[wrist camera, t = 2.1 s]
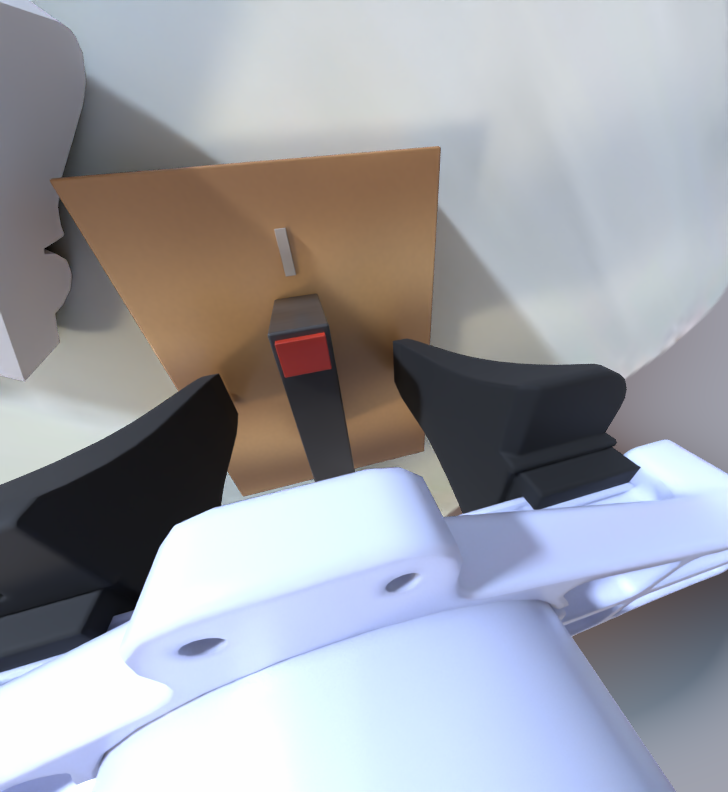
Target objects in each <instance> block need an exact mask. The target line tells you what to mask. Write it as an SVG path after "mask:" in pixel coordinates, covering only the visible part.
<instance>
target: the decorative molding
mask: <svg viewBox="0 0 728 792" xmlns="http://www.w3.org/2000/svg"><path fill="white" fill-rule="evenodd" d="M85 86H86V76H85V68H84V60H83V53H82V50H81V48H80V46H79V43H78V41H77V38H76V37H75V35H74V34H73V32H72V31H71V30H70V29H69V28H68V27H66V26H65V25H63V24H62V23H61V22H59V21H58V20H56V19H55V18H54V17H52V16H51V15H49V14H48V13H47V12H45V11H44V10H42V9H41V8H39V7H38V6H37V5H35V4H34V3H32V2H31V1H30V0H0V376H4V377H8V378H12V379H16V380H20V381H24V382H25V380H26V379H27V378H28V377H29V376H30V375H31V374H32V373H33V372H34V371H35V369H36V368H37V367H38V366H39V365H40V364H41V363H42V362H43V361H44V360H45V358H46V357H47V356H48V355H49V354H50V353H51V352H52V351H53V350H54V349H55V347H56V346H57V345H58V344H59V343H60V340H59V334H58V328H57V322H56V316H55V313H56V312H57V311H58V310H59V309H60V307H61V306H62V305H63V304H64V302H65V300H66V298H67V295H68V293H69V291H70V289H71V278H72V273H71V270H70V268H69V265H68V262H67V260H66V259H64V258H62V257H60V256H59V255H57V254H55V253H52V252H50V251H48V250H45V249H44V248H46V247H47V246H49V245H51V244H52V243H54V242H55V241H57V240H58V239H60V238H61V237H63V236H64V232H63V229H62V227H61V223H60V217H59V211H58V203H59V196H58V194H57V192H56V191H55V189H54V188H53V186H52V184H51V183H50V179H52V178H62V175H63V172H64V168H65V165H66V161H67V158H68V154H69V151H70V148H71V144H72V141H73V137H74V134H75V130H76V127H77V124H78V120H79V117H80V113H81V110H82V107H83V101H84V93H85Z"/></svg>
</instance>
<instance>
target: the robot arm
mask: <svg viewBox="0 0 728 792" xmlns="http://www.w3.org/2000/svg"><path fill="white" fill-rule="evenodd" d="M393 364H394V382H395V385H396V387H397V389H398V391H399V393H400V396H401V398H402V399H403V401H404V402H405V404H406V406H407V407H408V409H409V410H410V412H411V413H412V415H413V416H414V418H415V419H416V421H417V422H418V424H419V425H420V427H421V428H422V430H423V431H424V433H425V434H426V436H427V438H428V439H429V441H430V443H431V445H432V447H433V449H434V451H435V453H436V455H437V457H438V459H439V461H440V463H441V466H442V468H443V470H444V472H445V474H446V476H447V478H448V480H449V483H450V485H451V487H452V490H453V492H454V494H455V496H456V499H457V501H458V503H459V506H460V508H461V511H462V513H463V514H461V515H458V516H449V517H443V516H442V514H441V512H440V510H439V508H438V506H437V504H436V502H435V500H434V498H433V497H432V495H431V493H430V491H429V489H428V487H427V485H426V483H425V481H424V479H423V477H421V476H419V475H417V474H414V473H412V472H410V471H407V470H405V469H403V468H400V467H389V468H375V469H365V470H361V471H357V472H353V473H349V474H345V475H341V476H337V477H333V478H329V479H325V480H322V481H318V482H314V483H310V484H306V485H302V486H298V487H294V488H290V489H286V490H282V491H278V492H274V493H270V494H266V495H262V496H258V497H254V498H250V499H246V500H242V501H239V502H235V503H231V504H227V505H223V506H221V501H222V494H223V488H224V483H225V479H226V475H227V471H228V467H229V463H230V459H231V455H232V452H233V448H234V444H235V440H236V435H237V427H238V412H237V410H236V408H235V406H234V404H233V402H232V400H231V397H230V395H229V393H228V391H227V389H226V387H225V385H224V383H223V381H222V379H221V377H220V375H219V374H214V375H208V376H203V377H201V378H199V379H197V380H195V381H193V382H192V383H190V384H189V385H187V386H186V387H184V388H183V389H181V390H180V391H179V392H177V393H176V394H174V395H173V396H171V397H170V398H169V399H167V400H166V401H164V402H163V403H161V404H160V405H158V406H157V407H155V408H154V409H152V410H151V411H149V412H148V413H146V414H145V415H143V416H142V417H140V418H139V419H137V420H135V421H134V422H132V423H130V424H129V425H127V426H125V427H124V428H122V429H120V430H118V431H117V432H115V433H113V434H111V435H109V436H107V437H106V438H104V439H102V440H100V441H98V442H96V443H94V444H92V445H90V446H88V447H86V448H84V449H82V450H80V451H77V452H75V453H73V454H71V455H69V456H67V457H65V458H63V459H61V460H59V461H56V462H54V463H52V464H50V465H47V466H45V467H43V468H40V469H38V470H36V471H33V472H31V473H29V474H26V475H24V476H21V477H19V478H16V479H14V480H11V481H9V482H7V483H4V484H1V485H0V792H676V791H675V789H674V788H673V786H672V785H671V783H670V782H669V780H668V779H667V777H666V776H665V775H664V773H663V772H662V770H661V769H660V767H659V766H658V764H657V763H656V761H655V760H654V758H653V757H652V755H651V754H650V752H649V751H648V749H647V748H646V747H645V745H644V743H643V742H642V740H641V739H640V737H639V736H638V735H637V733H636V732H635V730H634V729H633V727H632V726H631V724H630V723H629V721H628V720H627V718H626V717H625V715H624V714H623V712H622V711H621V709H620V708H619V706H618V705H617V704H616V702H615V700H614V699H613V697H612V696H611V695H610V693H609V692H608V690H607V689H606V687H605V686H604V684H603V683H602V681H601V680H600V678H599V677H598V675H597V674H596V672H595V671H594V669H593V668H592V666H591V665H590V663H589V662H588V661H587V659H586V657H585V656H584V655H583V653H582V652H581V650H580V649H579V647H578V646H577V644H576V643H575V641H574V640H573V638H572V637H571V636H573V635H576V634H578V633H580V632H582V631H585V630H587V629H589V628H592V627H594V626H596V625H599V624H601V623H603V622H605V621H608V620H610V619H612V618H614V617H617V616H619V615H621V614H624V613H626V612H628V611H631V610H633V609H635V608H637V607H640V606H642V605H644V604H647V603H649V602H652V601H654V600H656V599H659V598H661V597H663V596H666V595H668V594H671V593H673V592H676V591H678V590H680V589H683V588H685V587H687V586H690V585H693V584H695V583H697V582H700V581H703V580H705V579H708V578H710V577H713V576H716V575H718V574H721V573H723V572H724V571H726V570H728V474H727V473H725V472H724V471H722V470H720V469H719V468H717V467H715V466H713V465H711V464H710V463H708V462H706V461H705V460H703V459H701V458H699V457H698V456H696V455H694V454H693V453H691V452H689V451H687V450H685V449H684V448H682V447H680V446H679V445H677V444H675V443H674V442H672V441H670V440H661V441H657V442H653V443H650V444H646V445H643V446H639V447H636V448H633V449H631V450H629V451H628V452H626V453H625V454H624V455H622V454H621V453H620V452H618V451H617V450H615V449H614V448H613V447H612V446H615V444H616V443H617V442H616V439H614V438H613V437H611V436H610V435H608V434H607V433H605V432H606V430H607V429H608V427H609V425H610V424H611V422H612V420H613V419H614V417H615V415H616V414H617V412H618V410H619V409H620V407H621V404H622V403H623V401H624V398H625V394H626V383H625V379H624V378H623V377H622V376H621V375H620V374H619V373H616V372H614V371H612V370H610V369H608V368H606V367H604V366H601V365H598V364H573V365H536V364H518V363H508V362H498V361H491V360H485V359H479V358H474V357H469V356H465V355H461V354H457V353H453V352H450V351H446V350H443V349H440V348H437V347H434V346H431V345H428V344H425V343H422V342H419V341H415V340H412V339H401V340H395V341H393Z"/></svg>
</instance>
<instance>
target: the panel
mask: <svg viewBox="0 0 728 792" xmlns="http://www.w3.org/2000/svg"><path fill="white" fill-rule="evenodd" d="M440 153H441V148H440V147H439V146H434V147H422V148H410V149H398V150H386V151H374V152H362V153H350V154H338V155H326V156H314V157H302V158H290V159H278V160H266V161H254V162H242V163H230V164H218V165H206V166H194V167H182V168H170V169H158V170H146V171H134V172H122V173H110V174H98V175H86V176H74V177H62V178H52V179H50V183H51V184H52V186H53V188H54V189H55V191H56V192H57V194H58V196H59V197H60V199H61V201H62V202H63V204H64V205H65V207H66V209H67V210H68V212H69V214H70V215H71V217H72V219H73V220H74V222H75V223H76V225H77V227H78V228H79V230H80V232H81V233H82V235H83V236H84V238H85V240H86V241H87V243H88V245H89V246H90V248H91V250H92V251H93V253H94V254H95V256H96V258H97V259H98V261H99V263H100V264H101V266H102V267H103V269H104V271H105V272H106V274H107V276H108V277H109V279H110V281H111V282H112V284H113V285H114V287H115V289H116V290H117V292H118V294H119V295H120V297H121V298H122V300H123V302H124V303H125V305H126V307H127V308H128V310H129V311H130V313H131V315H132V316H133V318H134V320H135V321H136V323H137V325H138V326H139V328H140V329H141V331H142V333H143V334H144V336H145V338H146V339H147V341H148V342H149V344H150V346H151V347H152V349H153V351H154V352H155V354H156V356H157V357H158V359H159V360H160V362H161V364H162V365H163V367H164V369H165V370H166V372H167V373H168V375H169V377H170V378H171V380H172V382H173V383H174V385H175V387H176V388H177V390H178V391H180V390H181V389H183V388H184V387H186V386H187V385H189V384H190V383H192V382H193V381H195V380H197V379H199V378H201V377H203V376H208V375H214V374H219V375H220V377H221V379H222V381H223V383H224V385H225V387H226V389H227V391H228V393H229V395H230V397H231V400H232V402H233V404H234V406H235V408H236V410H237V412H238V427H237V435H236V440H235V444H234V448H233V452H232V455H231V459H230V463H229V467H228V473H229V475H230V476H231V478H232V479H233V481H234V483H235V484H236V486H237V488H238V489H239V491H240V493H241V494H242V496H248V495H252V494H256V493H260V492H264V491H268V490H272V489H276V488H280V487H284V486H288V485H292V484H296V483H300V482H303V481H307V480H311V479H314V478H313V474H312V471H311V468H310V465H309V462H308V459H307V456H306V453H305V450H304V447H303V444H302V441H301V438H300V435H299V431H298V428H297V425H296V422H295V419H294V416H293V413H292V410H291V407H290V404H289V401H288V398H287V395H286V391H285V388H284V385H283V382H282V379H281V376H280V373H279V370H278V367H277V364H276V361H275V358H274V355H273V352H272V348H271V345H270V342H269V339H268V330H269V325H270V320H271V315H272V310H273V305H274V300H276V299H282V298H289V297H295V296H302V295H308V294H315V293H316V294H318V297H319V299H320V302H321V305H322V307H323V310H324V313H325V316H326V318H327V321H328V324H329V327H330V333H331V339H332V344H333V350H334V356H335V361H336V367H337V373H338V378H339V384H340V390H341V395H342V401H343V407H344V412H345V418H346V424H347V429H348V435H349V441H350V446H351V452H352V458H353V463H354V469H355V468H359V467H363V466H367V465H371V464H375V463H379V462H383V461H387V460H391V459H395V458H399V457H403V456H407V455H411V454H415V453H419V452H423V451H424V439H425V433H424V431H423V430H422V428H421V427H420V425H419V424H418V422H417V421H416V419H415V418H414V416H413V415H412V413H411V412H410V410H409V409H408V407H407V406H406V404H405V402H404V401H403V399H402V398H401V396H400V393H399V391H398V389H397V387H396V385H395V382H394V364H393V341H395V340H401V339H412V340H415V341H419V342H422V343H425V344H428V345H430V332H431V314H432V296H433V278H434V260H435V243H436V225H437V207H438V189H439V171H440Z"/></svg>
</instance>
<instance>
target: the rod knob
mask: <svg viewBox="0 0 728 792" xmlns="http://www.w3.org/2000/svg"><path fill="white" fill-rule="evenodd" d="M268 339H269V342H270V345H271V348H272V352H273V355H274V358H275V361H276V364H277V367H278V370H279V373H280V376H281V379H282V382H283V385H284V388H285V391H286V395H287V398H288V401H289V404H290V407H291V410H292V413H293V416H294V419H295V422H296V425H297V428H298V431H299V435H300V438H301V441H302V444H303V447H304V450H305V453H306V456H307V459H308V462H309V465H310V468H311V471H312V474H313V478H314V481H315V482H318V481H322V480H325V479H329V478H333V477H337V476H341V475H345V474H349V473H353V472H355V469H354V463H353V458H352V452H351V446H350V441H349V435H348V429H347V424H346V418H345V412H344V407H343V401H342V395H341V390H340V384H339V378H338V373H337V367H336V361H335V356H334V350H333V344H332V339H331V333H330V327H329V324H328V321H327V318H326V316H325V313H324V310H323V307H322V305H321V302H320V299H319V297H318V294H316V293H315V294H308V295H302V296H295V297H289V298H282V299H276V300H274V305H273V310H272V315H271V320H270V325H269V330H268Z"/></svg>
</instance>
